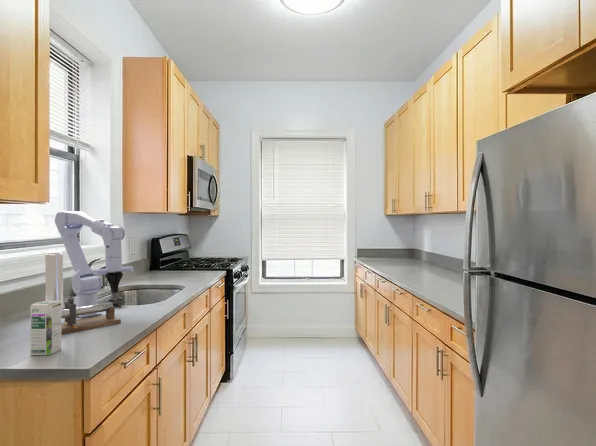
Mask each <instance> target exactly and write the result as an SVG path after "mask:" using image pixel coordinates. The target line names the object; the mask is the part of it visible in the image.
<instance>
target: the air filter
mask: <svg viewBox="0 0 596 446" xmlns="http://www.w3.org/2000/svg"><path fill="white" fill-rule="evenodd" d="M44 257H45V258H44V259H45V260H44V261H45V273H44V274H45V275H44V276H45V302H55V301H61V310H64V253H63V251H47V252H46V253H45V256H44Z"/></svg>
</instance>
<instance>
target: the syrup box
mask: <svg viewBox="0 0 596 446" xmlns="http://www.w3.org/2000/svg"><path fill="white" fill-rule="evenodd" d="M29 309H30V313H29V314H30V351H29V352H30V356H52V355H53V354H55V353H57V352H58V351H60V350H61V349H62V334H61V323H62V319H61V310H62V309H61V301H55V302H46V300H45V301H44V300H43V301H38V302H35V303H32V304H30V308H29Z"/></svg>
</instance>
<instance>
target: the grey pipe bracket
mask: <svg viewBox="0 0 596 446" xmlns="http://www.w3.org/2000/svg"><path fill="white" fill-rule="evenodd" d="M63 307H64V309H69V308H70V317H68V318H64V322H67V323H68V324H70V325H73V324H76V320H77V316H76V304H75V298H72V297H69V298H67V301H63Z"/></svg>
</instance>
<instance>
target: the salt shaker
mask: <svg viewBox="0 0 596 446" xmlns="http://www.w3.org/2000/svg"><path fill="white" fill-rule="evenodd" d="M119 292H120V289H119V288H118V289H117V292H110V293H111V294H110V296H109V298H107V300H108V303H110V302H112V303H113V306H114V307H115V308H120V307H122V305H121V304H120V303H121V302H122V299H123V297H121V296H120V294H119Z"/></svg>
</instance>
